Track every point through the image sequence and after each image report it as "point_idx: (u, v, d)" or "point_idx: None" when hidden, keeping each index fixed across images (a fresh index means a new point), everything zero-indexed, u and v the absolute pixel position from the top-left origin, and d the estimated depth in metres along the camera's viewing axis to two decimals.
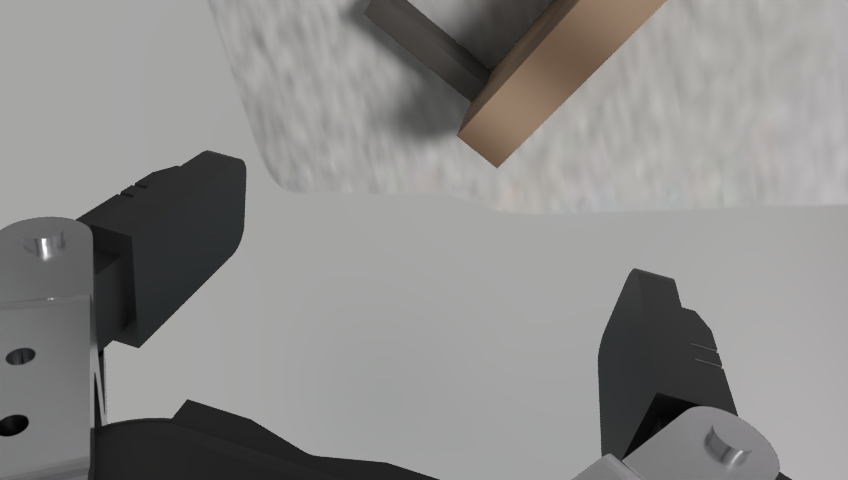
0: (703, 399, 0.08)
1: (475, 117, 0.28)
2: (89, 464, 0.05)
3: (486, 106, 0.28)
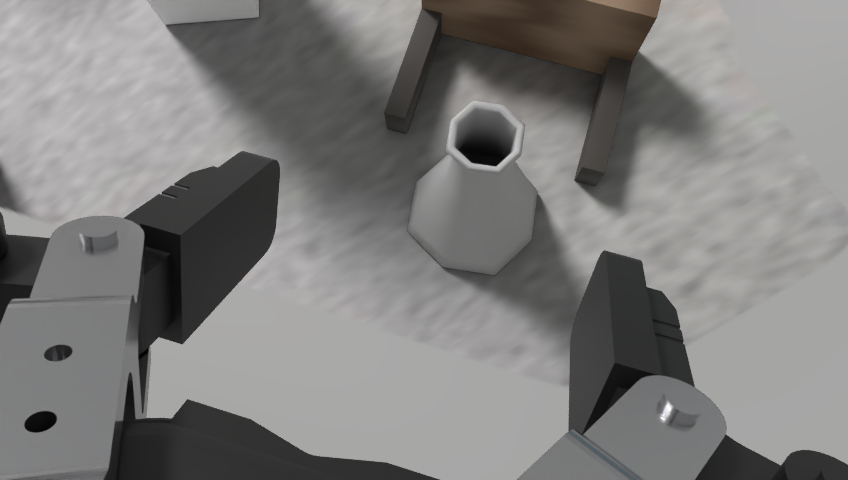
0: (659, 369, 0.09)
1: (630, 10, 0.31)
2: (89, 464, 0.05)
3: (615, 6, 0.31)
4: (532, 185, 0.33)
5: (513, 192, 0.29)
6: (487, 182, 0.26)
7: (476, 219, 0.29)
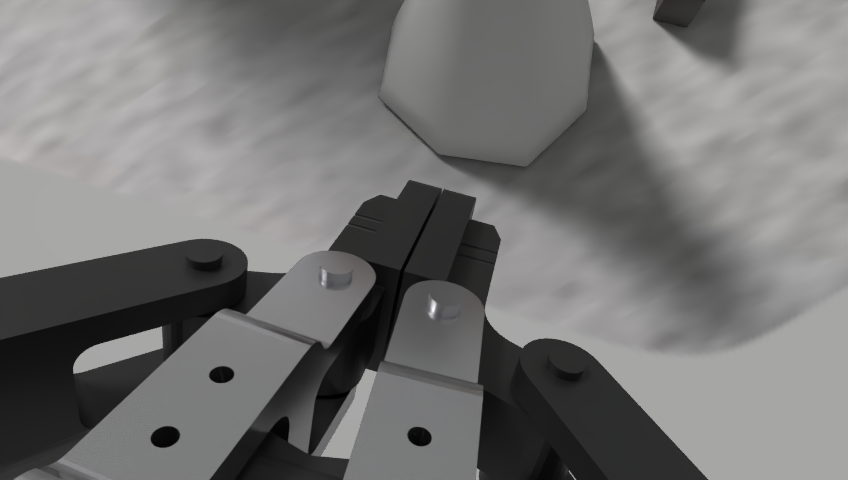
0: (445, 278, 0.10)
1: None
2: (89, 464, 0.05)
3: None
4: None
5: None
6: None
7: (502, 36, 0.16)
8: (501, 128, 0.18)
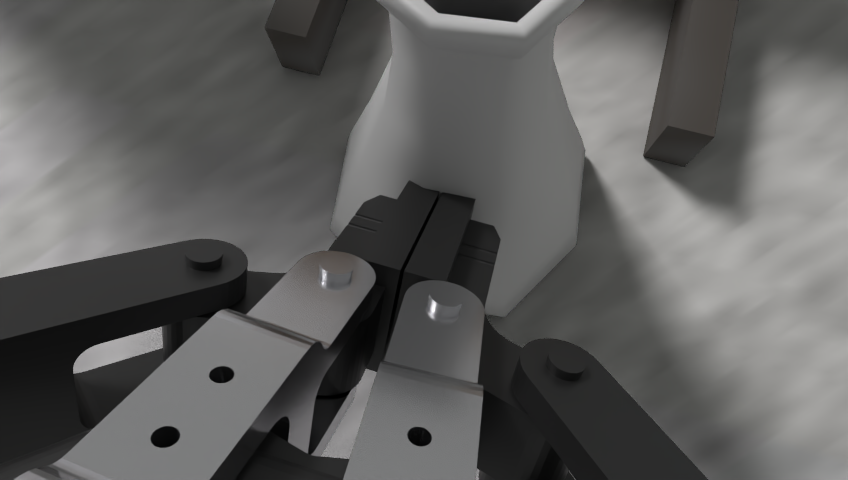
0: (446, 278, 0.10)
1: None
2: (89, 464, 0.05)
3: None
4: (579, 134, 0.16)
5: (550, 134, 0.12)
6: (488, 92, 0.10)
7: None
8: None
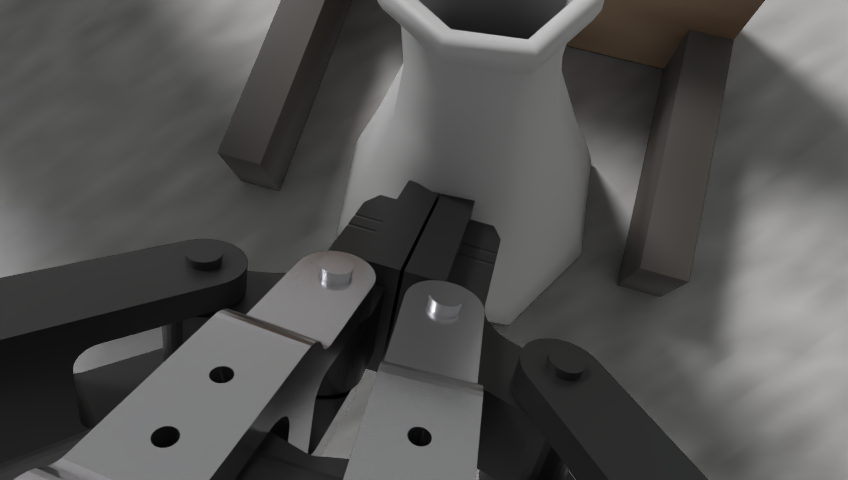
0: (446, 278, 0.10)
1: None
2: (89, 464, 0.05)
3: None
4: (585, 144, 0.16)
5: (557, 146, 0.12)
6: (498, 105, 0.10)
7: None
8: None
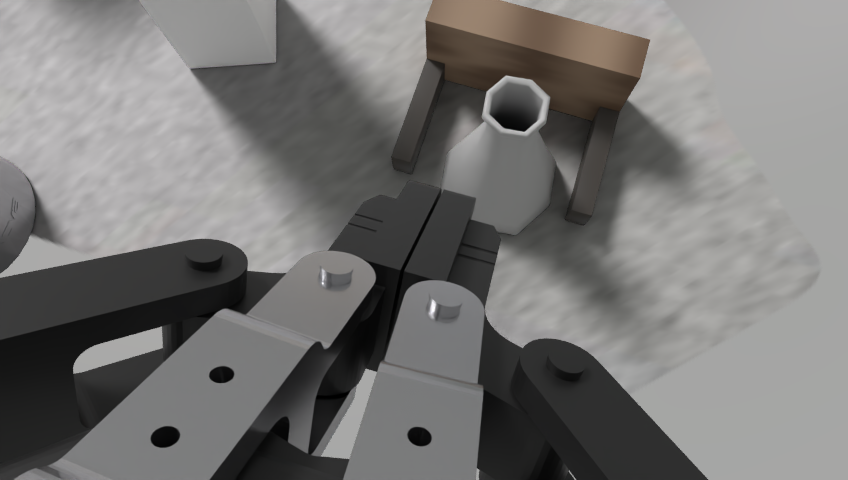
0: (446, 278, 0.10)
1: (616, 70, 0.34)
2: (89, 464, 0.05)
3: (603, 66, 0.34)
4: (552, 156, 0.37)
5: (536, 158, 0.33)
6: (515, 146, 0.31)
7: (503, 181, 0.34)
8: (503, 217, 0.36)
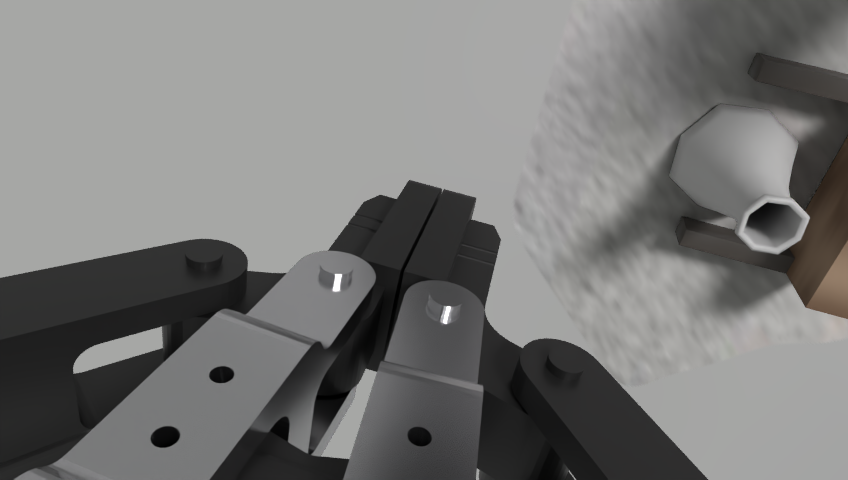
0: (446, 278, 0.10)
1: (818, 290, 0.36)
2: (89, 464, 0.05)
3: (825, 279, 0.36)
4: None
5: (731, 217, 0.36)
6: (736, 213, 0.33)
7: (712, 185, 0.36)
8: (684, 171, 0.39)
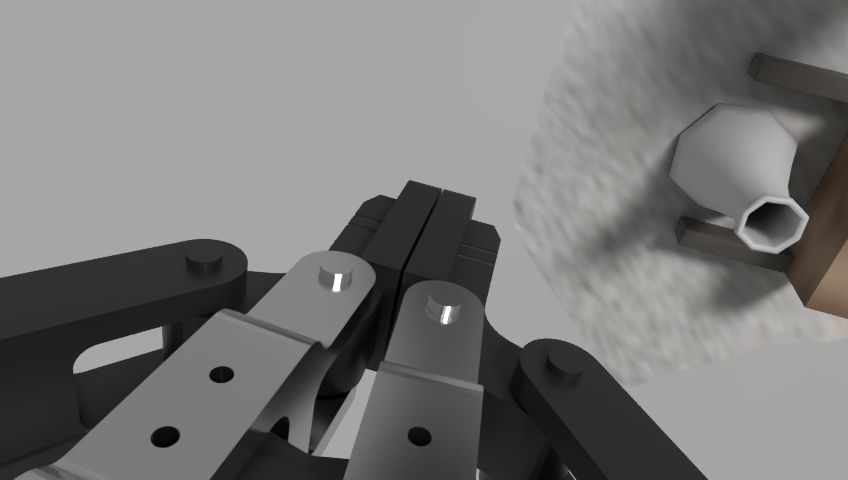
0: (445, 278, 0.10)
1: (817, 289, 0.36)
2: (89, 464, 0.05)
3: (824, 279, 0.36)
4: None
5: (730, 216, 0.36)
6: (735, 212, 0.33)
7: (711, 185, 0.36)
8: (683, 170, 0.39)
